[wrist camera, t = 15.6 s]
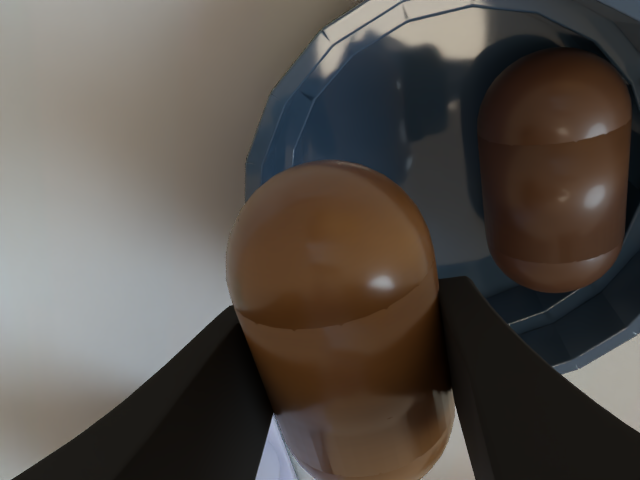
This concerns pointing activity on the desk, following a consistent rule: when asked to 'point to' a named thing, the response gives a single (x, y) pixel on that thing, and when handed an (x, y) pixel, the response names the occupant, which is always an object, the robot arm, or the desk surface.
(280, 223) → the brown egg capsule
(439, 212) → the bowl
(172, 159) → the desk surface
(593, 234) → the brown toy capsule
